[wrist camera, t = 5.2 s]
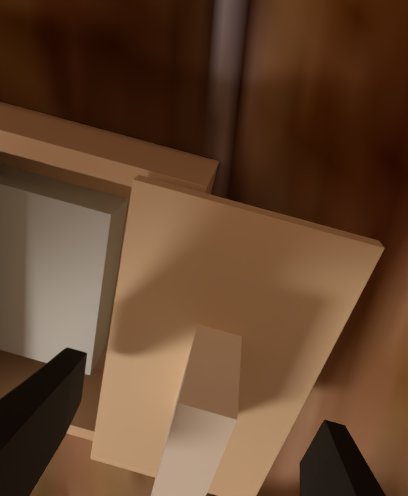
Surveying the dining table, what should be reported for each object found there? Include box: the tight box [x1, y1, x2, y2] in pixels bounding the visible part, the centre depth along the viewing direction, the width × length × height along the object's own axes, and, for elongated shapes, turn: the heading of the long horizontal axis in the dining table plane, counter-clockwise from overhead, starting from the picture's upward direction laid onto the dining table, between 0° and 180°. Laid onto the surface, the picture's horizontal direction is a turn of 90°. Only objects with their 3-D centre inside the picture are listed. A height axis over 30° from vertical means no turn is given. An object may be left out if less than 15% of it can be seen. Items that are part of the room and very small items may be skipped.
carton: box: [0, 102, 219, 441], centre depth 14 cm, size 14×12×4 cm
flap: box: [90, 175, 385, 496], centre depth 11 cm, size 7×12×4 cm, turn 167°
